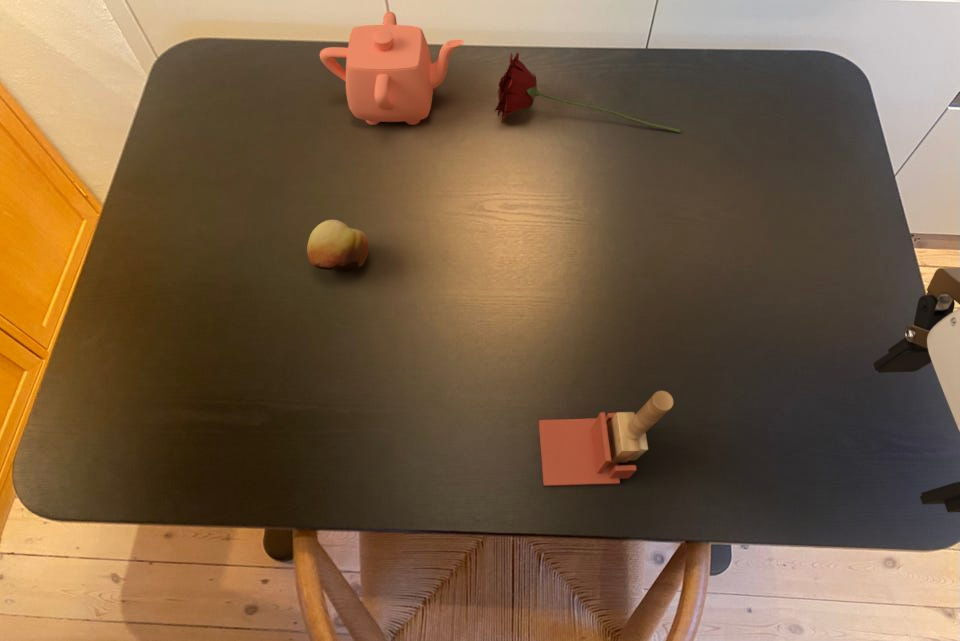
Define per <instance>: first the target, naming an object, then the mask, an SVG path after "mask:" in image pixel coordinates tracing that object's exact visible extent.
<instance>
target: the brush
mask: <svg viewBox="0 0 960 641" xmlns="http://www.w3.org/2000/svg"><path fill="white" fill-rule="evenodd" d="M673 406H674V399H673V396H672V395H671V394H670V393H669V392H668V391H666V390H657V391H656V392H655V393H653V395H652V396H651V397H650V398H649V399H648V400H647V401H646V403H644V404H643V405H642V407H640V409H639V410H638V411H637V412H636V413H635V412H634V411H618V412H617V411H616V412H615V413H616V414H615V415H614V417H613V418H612V419H611V420H610V422H609V423H608V424H607V431H608V439H609V447H610V454H611V462H610V463H617V464H620V463H621V464H622V463H623V464H624V463H628V462H630V461H636V460H638V459H639V458H640V457H641V456H642V455H644V454H645V453H646V452H647V451H649V446H648V438H647V432H648V431H649V430H650V429H651V428H652V427H653V426H654V425H655V424H656V423H657V422H659V420H661V419H662V417H664V416H665V415H666V414H667V413H668V412H669V411H670V410H671V409H672V408H673Z"/></svg>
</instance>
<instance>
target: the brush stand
mask: <svg viewBox="0 0 960 641" xmlns="http://www.w3.org/2000/svg"><path fill="white" fill-rule="evenodd" d="M616 413H617V412H608V413H607V414H606V412H605V411H602V412H599V413H598V416H597V417H592V418H567V419H566V418H561V419H539V420H538V430H539V444H540V456H541V457H540V458H541V470H542V484H543V485H542V486H543V487H567V486H570V487H571V486H596V485H597V486H598V485H599V486H600V485H601V486H603V485H620V484H621V480H627V479H630V478H631V477H632V476H633V474H635V473H636V471H637V465H636V464H621V465H619V463H610V462H611V454H610V447H609V439H608V431H607V424H608V423H609V422H610V420H611V419H612V418H613V417H614V415H615V414H616Z"/></svg>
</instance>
